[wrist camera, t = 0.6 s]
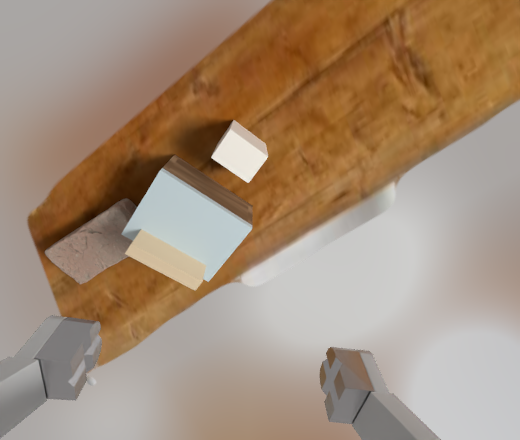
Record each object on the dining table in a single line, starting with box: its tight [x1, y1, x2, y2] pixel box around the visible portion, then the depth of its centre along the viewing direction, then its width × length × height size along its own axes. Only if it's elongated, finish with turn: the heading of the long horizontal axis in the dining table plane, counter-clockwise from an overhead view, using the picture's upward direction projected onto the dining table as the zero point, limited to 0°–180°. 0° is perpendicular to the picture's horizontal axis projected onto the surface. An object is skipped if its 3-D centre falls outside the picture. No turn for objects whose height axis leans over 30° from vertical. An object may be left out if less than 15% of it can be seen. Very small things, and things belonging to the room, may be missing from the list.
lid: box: [121, 168, 252, 290], centre depth 42 cm, size 12×15×5 cm
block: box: [211, 120, 268, 183], centre depth 42 cm, size 4×6×8 cm
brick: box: [45, 198, 137, 284], centre depth 51 cm, size 17×8×5 cm, turn 121°
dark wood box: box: [163, 155, 252, 225], centre depth 47 cm, size 12×15×7 cm
